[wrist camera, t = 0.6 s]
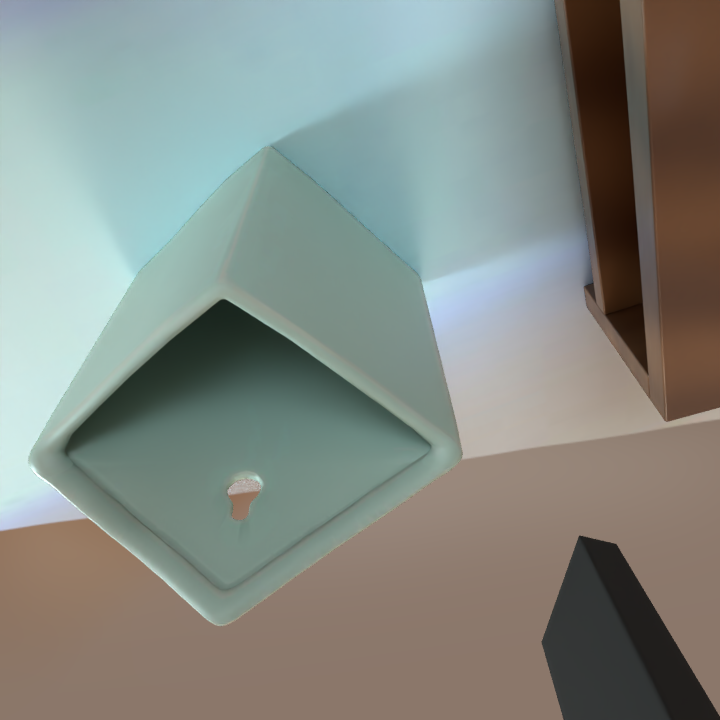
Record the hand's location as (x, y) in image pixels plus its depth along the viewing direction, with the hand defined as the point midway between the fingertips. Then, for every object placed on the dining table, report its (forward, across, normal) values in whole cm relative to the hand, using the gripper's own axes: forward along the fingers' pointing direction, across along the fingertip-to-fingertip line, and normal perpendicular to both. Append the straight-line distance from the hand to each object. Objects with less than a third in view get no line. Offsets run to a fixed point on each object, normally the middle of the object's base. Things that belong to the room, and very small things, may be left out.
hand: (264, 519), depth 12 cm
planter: (+19, -6, +5) cm, 21 cm away
